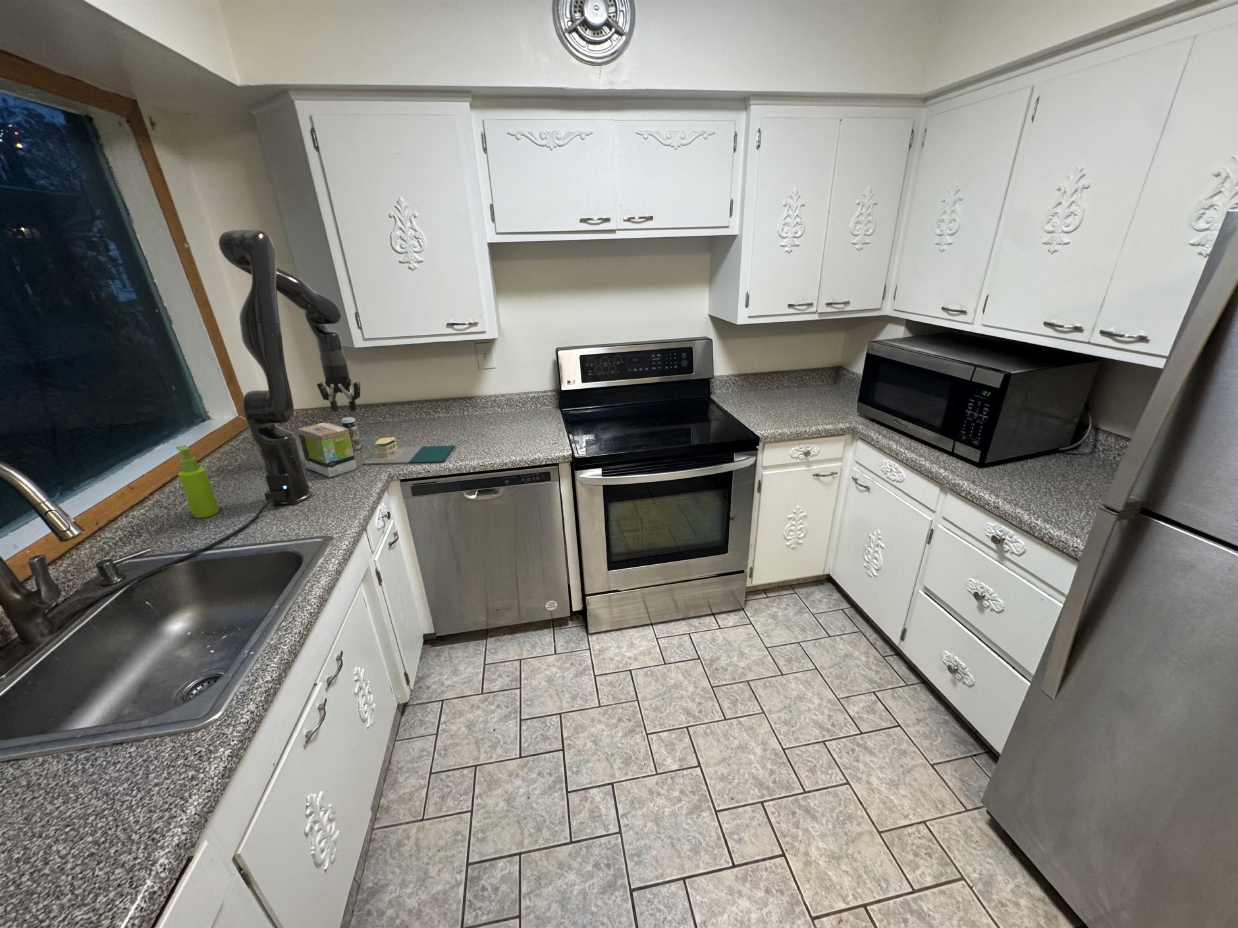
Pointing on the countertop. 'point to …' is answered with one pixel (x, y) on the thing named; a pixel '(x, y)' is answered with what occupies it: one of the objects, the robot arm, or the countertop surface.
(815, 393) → the countertop surface
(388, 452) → the stacked layers on plate
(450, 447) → the board
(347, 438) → the tea box
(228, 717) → the countertop surface
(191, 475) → the soap dispenser
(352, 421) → the beer can
